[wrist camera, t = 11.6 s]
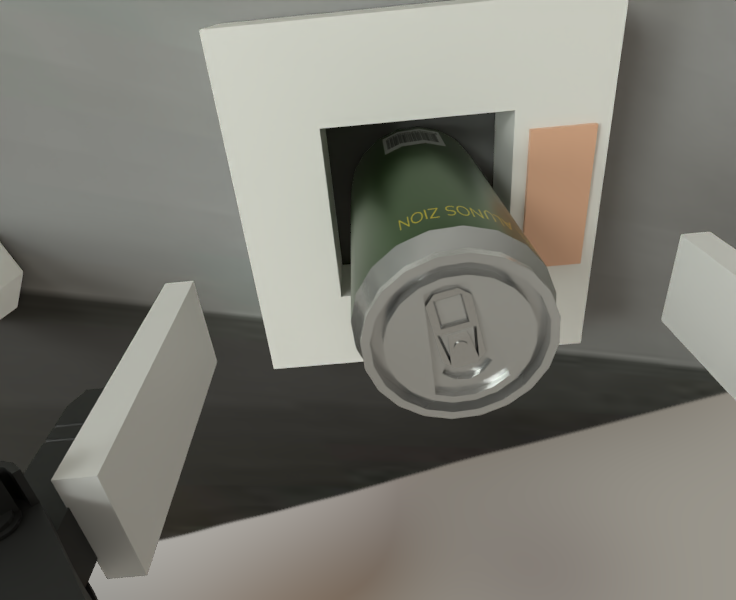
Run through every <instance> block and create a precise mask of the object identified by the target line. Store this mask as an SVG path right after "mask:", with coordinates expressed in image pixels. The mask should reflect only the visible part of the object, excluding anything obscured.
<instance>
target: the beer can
mask: <svg viewBox="0 0 736 600" xmlns="http://www.w3.org/2000/svg"><path fill="white" fill-rule="evenodd" d="M560 322H561V316H560V313H559V311H558V308H557V305H556V290H555V288H554V285H553V282H552V280H551V277H550V274H549V271H548V269H547V266H546V265H545V264H544V262H543V261H542V259H541V258H540V256H539V255H538V253H537V252H536V251H535V249H534V248H533V246H532V245H531V243H530V242H529V240H528V239H527V238H526V236H525V235H524V233H523V232H522V230H521V229H520V227H519V226H518V225H517V223H516V222H515V220H514V219H513V217H512V216H511V214H510V213H509V212H508V210H507V209H506V207H505V206H504V204H503V203H502V202H501V200H500V199H499V197H498V196H497V194H496V193H495V191H494V190H493V189H492V187H491V186H490V184H489V183H488V181H487V180H486V178H485V177H484V176H483V174H482V173H481V171H480V170H479V168H478V167H477V165H476V164H475V163H474V161H473V160H472V158H471V157H470V155H469V154H468V153H467V152H466V151H465V150H464V148H463V147H462V146H461V145H460V144H459V143H458V142H457V141H456V140H455V139H453V138H452V137H450V136H448V135H446V134H444V133H442V132H441V131H439V130H434V129H428V128H422V127H413V128H407V129H401V130H396V131H394V132H392V133H390V134H388V135H386V136H384V137H382V138H380V139H378V140H377V141H376V142H375V143H374V144H373V145H372V146H371V147H370V148H369V149H368V150H367V151H366V152H365V153H364V154H363V156H362V158H361V160H360V162H359V164H358V166H357V168H356V170H355V172H354V176H353V182H352V189H351V326H352V331H353V336H354V341H355V346H356V349H357V351H358V352H359V354H360V355H361V357H362V359H363V361H364V366H365V370H366V372H367V373H368V375H369V376H370V378H371V379H372V381H373V383H374V384H375V386H376V387H377V389H378V390H379V391H380V392H381V393H383V394H384V395H385V396H386V397H388V398H389V399H390V400H392V401H393V402H394V403H395V404H397V405H398V406H400V407H402V408H405V409H407V410H410V411H413V412H415V413H418V414H420V415H423V416H430V417H440V418H449V419H454V418H462V417H470V416H477V415H482V414H485V413H487V412H490V411H493V410H495V409H498V408H501V407H503V406H506V405H508V404H510V403H511V402H513V401H514V400H515V399H517V398H518V397H520V396H521V395H523V394H524V393H526V392H527V391H529V390H530V389H531V388H532V387H533V386H534V385H535V384H536V383H537V381H538V380H539V379H540V378H541V377H542V375H543V374H544V373H545V372H546V371H547V370H548V368H549V367H550V365H551V362H552V360H553V357H554V355H555V353H556V350H557V348H558V346H559V343H560Z"/></svg>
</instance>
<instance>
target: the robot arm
mask: <svg viewBox="0 0 736 600" xmlns="http://www.w3.org/2000/svg"><path fill="white" fill-rule="evenodd" d="M661 321H662V322H663V323H664V324H665V325H666V326H667V327H668V328H669V329H670V331H671V332H672V333H673V334H674V335H675V336H676V337H677V338H678V339H679V340H680V341H681V342H682V344H683V345H684V346H685V347H686V348H687V349H688V350H689V351H690V352H691V353H692V354H693V355H694V356H695V358H696V359H697V360H698V361H699V362H700V363H701V364H702V365H703V366H704V367H705V368H706V369H707V370H708V372H709V373H710V374H711V375H712V376H713V377H714V378H715V379H716V380H717V381H718V382H719V383H720V384H721V386H722V387H723V388H724V389H725V390H726V391H727V392H728V393H729V394H730V395H731V396H732V397H733V398H734V400H735V401H736V249H734V248H733V247H731V246H730V245H728V244H727V243H726V242H724V241H723V240H721V239H720V238H718V237H717V236H715V235H714V234H713V233H711V232H700V233H690V234H681V237H680V241H679V245H678V250H677V254H676V258H675V263H674V267H673V271H672V275H671V280H670V284H669V288H668V293H667V297H666V301H665V305H664V310H663V314H662V318H661ZM216 364H217V360H216V356H215V353H214V349H213V346H212V342H211V339H210V336H209V332H208V329H207V325H206V322H205V318H204V315H203V311H202V308H201V304H200V301H199V298H198V294H197V291H196V287H195V284H194V281H186V282H175V283H165V285H164V287H163V288H162V290H161V292H160V294H159V295H158V297H157V299H156V301H155V302H154V304H153V306H152V307H151V309H150V311H149V313H148V314H147V316H146V318H145V319H144V321H143V323H142V325H141V326H140V328H139V330H138V331H137V333H136V335H135V337H134V338H133V340H132V342H131V343H130V345H129V347H128V349H127V350H126V352H125V354H124V355H123V357H122V359H121V361H120V362H119V364H118V366H117V367H116V369H115V371H114V373H113V374H112V376H111V378H110V380H109V381H108V383H107V385H106V386H105V388H103V389H92V390H86V391H85V392H83V393H82V394H81V395H80V396H79V397H78V398H77V399H75V400H74V401H73V402H72V403H71V404H70V405H68V406H67V408H66V409H65V411H64V412H63V414H62V415H61V417H60V418H59V420H58V421H57V423H56V428H53V429H52V431H51V432H50V434H49V435H48V437H47V439H46V443H43V445H42V446H41V448H40V449H39V451H38V453H37V454H36V456H35V457H34V459H33V460H32V462H31V463H30V465H29V466H28V468H27V470H26V471H25V473H24V474H23V473H22V472H21V470H20V469H19V468H18V467H17V466H16V465H15V464H14V463H11V462H5V461H0V600H98V599H97V597H96V595H95V593H94V591H93V589H92V587H91V586H90V584H89V582H88V580H89V578H90V576H91V573H92V571H93V568H94V566H95V563H96V561H97V562H98V564H99V565H100V567H101V569H102V570H103V572H104V574H105V576H106V578H107V579H111V578H123V577H134V576H145V575H147V574H148V571H149V567H150V565H151V562H152V558H153V555H154V553H155V550H156V547H157V544H158V540H159V537H160V534H161V531H162V528H163V525H164V522H165V519H166V516H167V513H168V510H169V507H170V504H171V501H172V498H173V495H174V492H175V489H176V486H177V483H178V480H179V477H180V473H181V470H182V467H183V464H184V461H185V458H186V455H187V452H188V449H189V446H190V443H191V440H192V437H193V434H194V431H195V428H196V425H197V422H198V419H199V416H200V413H201V410H202V407H203V403H204V400H205V397H206V394H207V391H208V388H209V385H210V382H211V379H212V376H213V373H214V370H215V367H216Z"/></svg>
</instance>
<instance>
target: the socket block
mask: <svg viewBox="0 0 736 600" xmlns="http://www.w3.org/2000/svg"><path fill="white" fill-rule="evenodd" d="M628 1H629V0H452V1H442V2H431V3H421V4H411V5H401V6H391V7H381V8H371V9H361V10H351V11H341V12H331V13H321V14H311V15H301V16H291V17H281V18H271V19H261V20H251V21H241V22H231V23H221V24H216V25H213V26H209V27H206V28H203V29H200V30H199V33H200V37H201V42H202V46H203V51H204V55H205V60H206V64H207V69H208V73H209V78H210V82H211V87H212V91H213V96H214V100H215V105H216V109H217V114H218V118H219V123H220V127H221V132H222V136H223V141H224V146H225V150H226V155H227V159H228V164H229V168H230V173H231V177H232V182H233V186H234V191H235V195H236V200H237V204H238V209H239V213H240V218H241V222H242V227H243V231H244V236H245V240H246V245H247V249H248V254H249V259H250V263H251V268H252V272H253V277H254V281H255V286H256V290H257V295H258V299H259V304H260V308H261V313H262V317H263V322H264V326H265V331H266V335H267V340H268V344H269V349H270V353H271V358H272V362H273V367H274V369H280V368H292V367H304V366H315V365H327V364H339V363H351V362H363V359H362V357H361V355H360V354H359V352H358V351H357V349H356V346H355V341H354V336H353V331H352V326H351V264H346V265H342V257H341V249H340V241H339V233H338V225H337V217H336V209H335V201H334V193H333V185H332V177H331V169H330V160H329V152H328V144H327V136H326V128H333V127H344V126H354V125H365V124H376V123H386V122H397V121H407V120H418V119H428V118H439V117H449V116H460V115H471V114H481V113H492V112H495V139H494V169H493V190H494V191H495V193H496V194H497V196H498V197H499V199H500V200H501V202H502V203H503V204H504V206H505V207H506V209H507V210H508V212H509V213H510V214H511V216H512V217H513V219H514V220H515V222H516V223H517V225H518V226H519V227H520V229H521V230H522V232H523V233H524V235H525V236H526V238H527V239H528V240H529V242H530V243H531V245H532V246H533V248H534V249H535V251H536V252H537V253H538V255H539V256H540V258H541V259H542V261H543V262H544V264H545V265H546V266H547V269H548V271H549V274H550V277H551V280H552V282H553V285H554V288H555V290H556V305H557V308H558V311H559V313H560V316H561V322H560V343H559V345H563V344H575V343H581V336H582V329H583V322H584V314H585V307H586V300H587V293H588V286H589V279H590V272H591V264H592V257H593V250H594V243H595V236H596V229H597V222H598V215H599V207H600V200H601V193H602V186H603V179H604V172H605V165H606V157H607V150H608V143H609V136H610V129H611V122H612V115H613V108H614V100H615V93H616V86H617V79H618V72H619V65H620V58H621V50H622V43H623V36H624V29H625V22H626V15H627V8H628Z"/></svg>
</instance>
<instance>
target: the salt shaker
mask: <svg viewBox="0 0 736 600" xmlns="http://www.w3.org/2000/svg"><path fill="white" fill-rule="evenodd" d="M22 277H23V270H22V269H21V268H20V267H19V265H18V264H17V263H16V262H15V260H14V259H13V258H12V256H11V255H10V254H9V253H8V251H7V250H6V249H5V247H4V246H3V245H2V244H1V242H0V319H2V318H3V317H5V316H6V315H7V314H9V313H10V312H12V311H13V310H14V309H16V308H17V307H18V301H19V295H20V289H21V283H22Z"/></svg>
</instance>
